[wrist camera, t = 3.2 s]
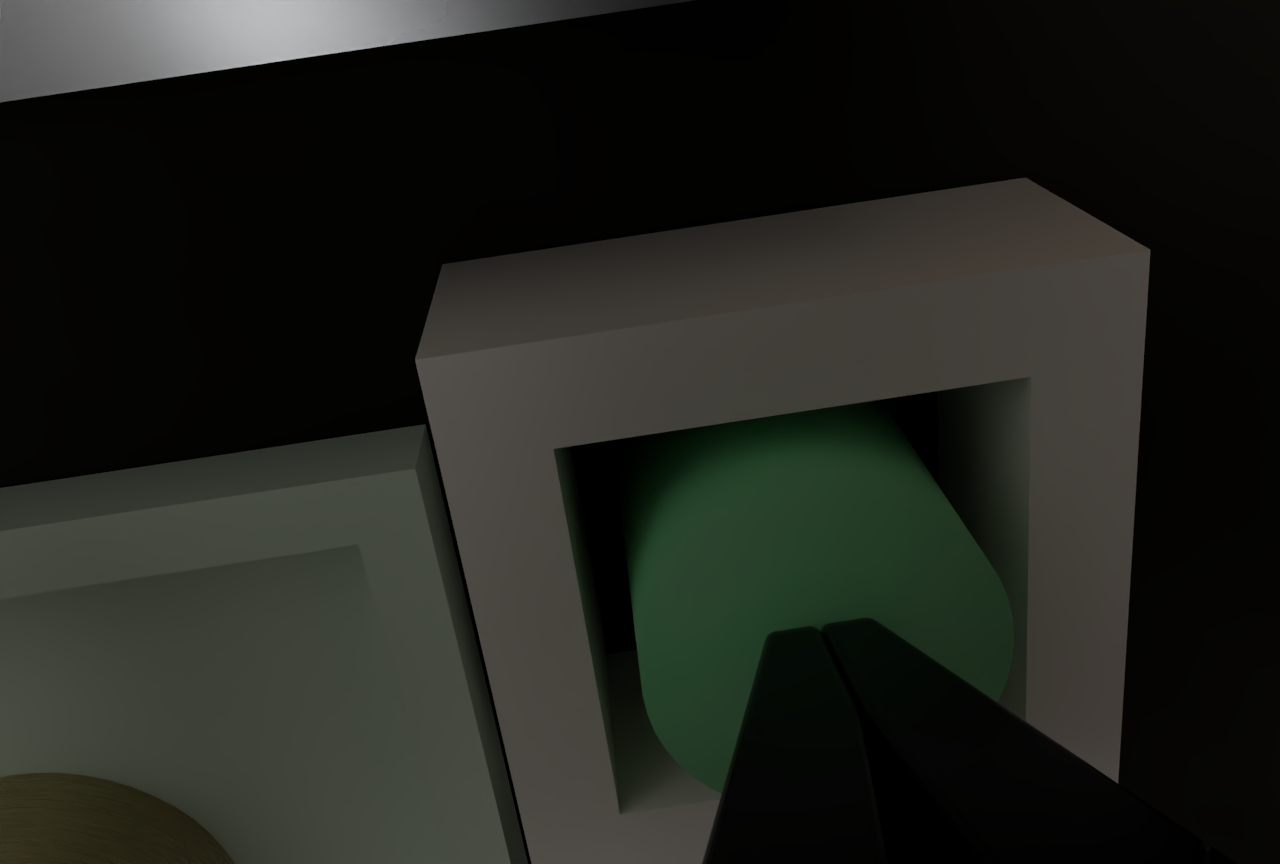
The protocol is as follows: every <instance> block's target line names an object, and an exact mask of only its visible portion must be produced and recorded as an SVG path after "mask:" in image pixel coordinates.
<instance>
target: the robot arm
mask: <svg viewBox="0 0 1280 864" xmlns="http://www.w3.org/2000/svg"><path fill="white" fill-rule="evenodd" d="M702 864H1237V863H1236V862H1234V861H1233V860H1231V859H1230V858H1228V857H1227V856H1225V855H1224V854H1222V853H1221V852H1220V851H1218V850H1217V849H1215V848H1213V847H1207V848H1205V849H1204V844H1203V842H1202V840H1201V839H1200V838H1198V837H1197V836H1195V835H1194V834H1192V833H1191V832H1189V831H1188V830H1186V829H1185V828H1183V827H1182V826H1180V825H1179V824H1177V823H1176V822H1174V821H1173V820H1171V819H1170V818H1168V817H1167V816H1165V815H1164V814H1162V813H1161V812H1159V811H1158V810H1157V809H1155V808H1154V807H1152V806H1151V805H1149V804H1148V803H1146V802H1145V801H1143V800H1142V799H1140V798H1139V797H1137V796H1136V795H1134V794H1133V793H1131V792H1130V791H1128V790H1127V789H1125V788H1124V787H1122V786H1121V785H1119V784H1118V783H1116V782H1115V781H1114V780H1112V779H1111V778H1109V777H1108V776H1106V775H1105V774H1103V773H1102V772H1100V771H1099V770H1097V769H1096V768H1094V767H1093V766H1091V765H1090V764H1088V763H1087V762H1085V761H1084V760H1082V759H1081V758H1079V757H1078V756H1076V755H1075V754H1073V753H1072V752H1070V751H1069V750H1068V749H1066V748H1065V747H1063V746H1062V745H1060V744H1059V743H1057V742H1056V741H1054V740H1053V739H1051V738H1050V737H1048V736H1047V735H1045V734H1044V733H1042V732H1041V731H1039V730H1038V729H1036V728H1035V727H1033V726H1032V725H1030V724H1029V723H1027V722H1026V721H1025V720H1023V719H1022V718H1020V717H1019V716H1017V715H1016V714H1014V713H1013V712H1011V711H1010V710H1008V709H1007V708H1005V707H1004V706H1002V705H1001V704H999V703H998V702H996V701H995V700H993V699H992V698H990V697H989V696H987V695H986V694H984V693H983V692H982V691H980V690H979V689H977V688H976V687H974V686H973V685H971V684H970V683H968V682H967V681H965V680H964V679H962V678H961V677H959V676H958V675H956V674H955V673H953V672H952V671H950V670H949V669H947V668H946V667H944V666H943V665H941V664H940V663H939V662H937V661H936V660H934V659H933V658H931V657H930V656H928V655H927V654H925V653H924V652H922V651H921V650H919V649H918V648H916V647H915V646H913V645H912V644H910V643H909V642H907V641H906V640H904V639H903V638H901V637H900V636H898V635H897V634H896V633H894V632H893V631H891V630H890V629H888V628H887V627H885V626H884V625H882V624H881V623H879V622H878V621H876V620H874V619H872V618H859V619H853V620H846V621H840V622H833V623H828V624H825V625H824V626H823V627H822V629H821V632H820V631H819V630H818V628H815V627H813V626H807V627H801V628H794V629H787V630H781V631H774V632H771V633H770V634H768V636H767V637H766V639H765V642H764V646H763V649H762V653H761V656H760V660H759V663H758V667H757V671H756V674H755V678H754V681H753V685H752V688H751V692H750V695H749V699H748V702H747V706H746V709H745V713H744V717H743V720H742V724H741V727H740V731H739V734H738V738H737V741H736V745H735V748H734V752H733V755H732V759H731V763H730V766H729V770H728V773H727V777H726V780H725V784H724V787H723V791H722V794H721V798H720V801H719V805H718V808H717V812H716V816H715V819H714V823H713V826H712V830H711V833H710V837H709V840H708V844H707V847H706V851H705V854H704V858H703V862H702Z"/></svg>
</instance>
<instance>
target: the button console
mask: <svg viewBox="0 0 1280 864" xmlns="http://www.w3.org/2000/svg"><path fill="white" fill-rule="evenodd" d="M1149 265H1150V249H1148V248H1146V247H1145V246H1143V245H1141V244H1139V243H1138V242H1136V241H1134V240H1133V239H1131V238H1129V237H1127V236H1126V235H1124V234H1122V233H1120V232H1119V231H1117V230H1115V229H1114V228H1112V227H1110V226H1108V225H1107V224H1105V223H1103V222H1101V221H1100V220H1098V219H1096V218H1095V217H1093V216H1091V215H1089V214H1088V213H1086V212H1084V211H1082V210H1081V209H1079V208H1077V207H1076V206H1074V205H1072V204H1070V203H1069V202H1067V201H1065V200H1063V199H1062V198H1060V197H1058V196H1057V195H1055V194H1053V193H1051V192H1050V191H1048V190H1046V189H1044V188H1043V187H1041V186H1039V185H1038V184H1036V183H1034V182H1032V181H1031V180H1029V179H1027V178H1019V179H1012V180H1006V181H999V182H992V183H985V184H979V185H972V186H965V187H959V188H952V189H945V190H938V191H932V192H925V193H918V194H911V195H905V196H898V197H891V198H885V199H878V200H871V201H864V202H858V203H851V204H844V205H838V206H831V207H824V208H817V209H811V210H804V211H797V212H791V213H784V214H777V215H770V216H764V217H757V218H750V219H743V220H737V221H730V222H723V223H717V224H710V225H703V226H696V227H690V228H683V229H676V230H670V231H663V232H656V233H649V234H643V235H636V236H629V237H623V238H616V239H609V240H602V241H596V242H589V243H582V244H576V245H569V246H562V247H555V248H549V249H542V250H535V251H528V252H522V253H515V254H508V255H502V256H495V257H488V258H481V259H475V260H468V261H461V262H455V263H448V264H442V268H441V271H440V275H439V278H438V282H437V285H436V289H435V292H434V296H433V299H432V303H431V306H430V310H429V313H428V317H427V320H426V323H425V327H424V330H423V334H422V337H421V341H420V344H419V348H418V351H417V355H416V358H415V362H416V366H417V371H418V375H419V379H420V384H421V388H422V392H423V397H424V401H425V405H426V409H427V414H428V418H429V422H430V427H431V431H432V435H433V440H434V444H435V448H436V453H437V457H438V461H439V466H440V470H441V474H442V479H443V483H444V487H445V492H446V496H447V500H448V505H449V509H450V513H451V518H452V522H453V526H454V530H455V535H456V539H457V543H458V548H459V552H460V556H461V561H462V565H463V569H464V574H465V578H466V582H467V587H468V591H469V595H470V600H471V604H472V608H473V613H474V617H475V621H476V626H477V630H478V634H479V639H480V643H481V647H482V652H483V656H484V660H485V664H486V669H487V673H488V677H489V682H490V686H491V690H492V695H493V699H494V703H495V708H496V712H497V716H498V721H499V725H500V729H501V734H502V738H503V742H504V747H505V751H506V755H507V760H508V764H509V768H510V773H511V777H512V781H513V785H514V790H515V794H516V798H517V803H518V807H519V811H520V816H521V820H522V824H523V829H524V833H525V837H526V842H527V846H528V850H529V855H530V859H531V863H532V864H702V862H703V858H704V854H705V851H706V847H707V844H708V840H709V837H710V833H711V830H712V826H713V823H714V819H715V816H716V812H717V808H718V805H719V801H720V798H721V793H719V792H717V791H715V790H713V789H711V788H709V787H708V786H706V785H705V784H703V783H702V782H700V781H699V780H697V779H696V778H694V777H693V776H692V775H690V774H689V773H688V772H687V771H686V770H685V769H684V768H682V767H681V766H680V765H679V764H678V763H677V762H676V761H675V760H674V758H673V757H672V756H671V755H670V754H669V753H668V751H667V750H666V749H665V748H664V746H663V744H662V743H661V741H660V740H659V738H658V736H657V735H656V733H655V731H654V729H653V727H652V724H651V722H650V720H649V717H648V715H647V711H646V707H645V703H644V699H643V695H642V687H641V678H640V670H639V662H638V653H637V650H631V651H625V652H618V653H611V654H607V650H606V644H605V638H604V632H603V627H602V621H601V615H600V610H599V604H598V598H597V592H596V587H595V581H594V575H593V570H592V564H591V558H590V552H589V547H588V541H587V535H586V530H585V524H584V518H583V512H582V507H581V501H580V495H579V490H578V484H577V478H576V472H575V467H574V461H573V455H572V450H571V446H576V445H582V444H589V443H596V442H602V441H609V440H616V439H622V438H629V437H636V436H642V435H649V434H655V433H662V432H669V431H675V430H682V429H689V428H695V427H702V426H708V425H715V424H722V423H728V422H735V421H742V420H748V419H755V418H762V417H768V416H775V415H781V414H788V413H795V412H801V411H808V410H815V409H821V408H828V407H834V406H841V405H848V404H854V403H861V402H868V401H874V400H881V399H888V398H894V397H901V396H907V395H914V394H921V393H927V392H934V391H937V423H938V467H939V487H940V489H941V490H942V492H943V493H944V495H945V496H946V498H947V499H948V501H949V502H950V504H951V505H952V507H953V508H954V510H955V511H956V513H957V514H958V516H959V517H960V519H961V520H962V522H963V523H964V525H965V526H966V528H967V529H968V531H969V532H970V534H971V535H972V537H973V538H974V540H975V541H976V543H977V544H978V546H979V547H980V549H981V550H982V552H983V553H984V555H985V556H986V558H987V559H988V561H989V562H990V564H991V565H992V567H993V568H994V570H995V572H996V573H997V575H998V576H999V578H1000V580H1001V582H1002V584H1003V587H1004V589H1005V591H1006V594H1007V596H1008V599H1009V603H1010V607H1011V611H1012V616H1013V625H1014V649H1013V659H1012V663H1011V667H1010V671H1009V675H1008V679H1007V681H1006V684H1005V687H1004V689H1003V692H1002V694H1001V697H1000V699H999V700H998V703H999V704H1001V705H1002V706H1004V707H1005V708H1007V709H1008V710H1010V711H1011V712H1013V713H1014V714H1016V715H1017V716H1019V717H1020V718H1022V719H1023V720H1025V721H1026V722H1027V723H1029V724H1030V725H1032V726H1033V727H1035V728H1036V729H1038V730H1039V731H1041V732H1042V733H1044V734H1045V735H1047V736H1048V737H1050V738H1051V739H1053V740H1054V741H1056V742H1057V743H1059V744H1060V745H1062V746H1063V747H1065V748H1066V749H1068V750H1069V751H1070V752H1072V753H1073V754H1075V755H1076V756H1078V757H1079V758H1081V759H1082V760H1084V761H1085V762H1087V763H1088V764H1090V765H1091V766H1093V767H1094V768H1096V769H1097V770H1099V771H1100V772H1102V773H1103V774H1105V775H1106V776H1108V777H1109V778H1111V779H1112V780H1114V781H1115V782H1116V783H1118V776H1119V759H1120V743H1121V726H1122V710H1123V693H1124V677H1125V660H1126V644H1127V628H1128V611H1129V595H1130V578H1131V562H1132V545H1133V529H1134V512H1135V496H1136V479H1137V463H1138V446H1139V430H1140V413H1141V397H1142V380H1143V364H1144V347H1145V331H1146V314H1147V298H1148V281H1149Z"/></svg>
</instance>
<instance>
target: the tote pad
mask: <svg viewBox="0 0 1280 864" xmlns="http://www.w3.org/2000/svg"><path fill="white" fill-rule="evenodd" d="M28 773H65V774H75V775H85V776H90V777H95V778H100V779H105V780H110V781H113V782H117V783H120V784H123V785H127V786H130V787H133V788H136V789H138V790H141V791H143V792H146V793H148V794H151V795H153V796H155V797H157V798H159V799H161V800H163V801H165V802H167V803H169V804H171V805H172V806H174V807H176V808H178V809H179V810H181V811H182V812H184V813H185V814H187V815H188V816H189V817H191V818H192V819H194V820H195V821H196V822H198V823H199V824H200V825H201V826H202V827H203V828H205V829H206V830H207V831H208V832H209V833H210V834H211V835H212V836H213V837H214V838H215V839H216V840H217V841H218V842H219V843H220V845H221V846H222V847H223V848H224V849H225V850H226V852H227V853H228V855H229V856H230V858H231V859H232V861H233V862H234V864H528V861H527V857H526V853H525V849H524V844H523V840H522V836H521V831H520V827H519V823H518V819H517V814H516V810H515V806H514V801H513V797H512V793H511V789H510V784H509V780H508V776H507V771H506V767H505V763H504V758H503V754H502V750H501V746H500V741H499V737H498V733H497V728H496V724H495V720H494V716H493V711H492V707H491V703H490V698H489V694H488V690H487V686H486V681H485V677H484V673H483V668H482V664H481V660H480V656H479V651H478V647H477V643H476V638H475V634H474V630H473V626H472V621H471V617H470V613H469V608H468V604H467V600H466V596H465V591H464V587H463V583H462V578H461V574H460V570H459V565H458V561H457V557H456V553H455V548H454V544H453V540H452V535H451V531H450V527H449V523H448V518H447V514H446V510H445V505H444V501H443V497H442V493H441V488H440V484H439V480H438V475H437V471H436V467H435V463H434V458H433V454H432V450H431V445H430V441H429V437H428V433H427V428H426V424H423V425H417V426H410V427H403V428H397V429H390V430H383V431H377V432H370V433H363V434H357V435H350V436H344V437H337V438H330V439H324V440H317V441H310V442H304V443H297V444H290V445H284V446H277V447H270V448H264V449H257V450H250V451H244V452H237V453H230V454H224V455H217V456H211V457H204V458H197V459H191V460H184V461H177V462H171V463H164V464H157V465H151V466H144V467H137V468H131V469H124V470H117V471H111V472H104V473H97V474H91V475H84V476H78V477H71V478H64V479H58V480H51V481H44V482H38V483H31V484H24V485H18V486H11V487H4V488H0V777H4V776H9V775H18V774H28Z"/></svg>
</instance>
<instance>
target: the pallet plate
mask: <svg viewBox="0 0 1280 864" xmlns="http://www.w3.org/2000/svg"><path fill="white" fill-rule="evenodd" d="M688 1H694V0H0V102H6V101H12V100H19V99H26V98H33V97H40V96H46V95H53V94H60V93H67V92H74V91H81V90H87V89H94V88H101V87H108V86H115V85H122V84H128V83H135V82H142V81H149V80H156V79H162V78H169V77H176V76H183V75H190V74H197V73H203V72H210V71H217V70H224V69H231V68H237V67H244V66H251V65H258V64H265V63H272V62H278V61H285V60H292V59H299V58H306V57H313V56H319V55H326V54H333V53H340V52H347V51H353V50H360V49H367V48H374V47H381V46H388V45H394V44H401V43H408V42H415V41H422V40H428V39H435V38H442V37H449V36H456V35H463V34H469V33H476V32H483V31H490V30H497V29H503V28H510V27H517V26H524V25H531V24H538V23H544V22H551V21H558V20H565V19H572V18H579V17H585V16H592V15H599V14H606V13H613V12H619V11H626V10H633V9H640V8H647V7H654V6H660V5H667V4H674V3H681V2H688Z"/></svg>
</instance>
